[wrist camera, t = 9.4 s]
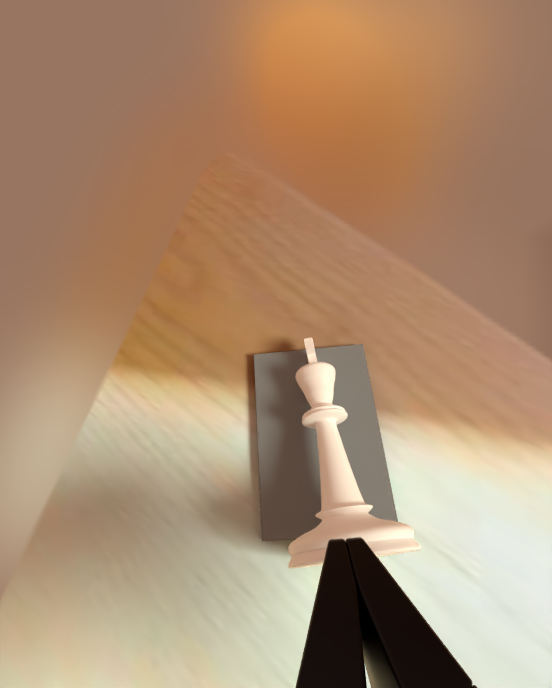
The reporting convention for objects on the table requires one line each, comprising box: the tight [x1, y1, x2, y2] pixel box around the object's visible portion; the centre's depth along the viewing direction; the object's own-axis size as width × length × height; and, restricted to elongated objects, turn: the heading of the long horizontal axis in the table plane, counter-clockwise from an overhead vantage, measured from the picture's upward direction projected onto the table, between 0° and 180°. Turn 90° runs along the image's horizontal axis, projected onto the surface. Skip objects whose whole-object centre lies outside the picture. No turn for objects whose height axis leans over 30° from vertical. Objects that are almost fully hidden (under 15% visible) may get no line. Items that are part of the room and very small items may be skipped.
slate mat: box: [254, 344, 398, 541], centre depth 17 cm, size 9×6×1 cm, turn 4°
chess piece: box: [288, 337, 421, 568], centre depth 16 cm, size 5×5×10 cm
